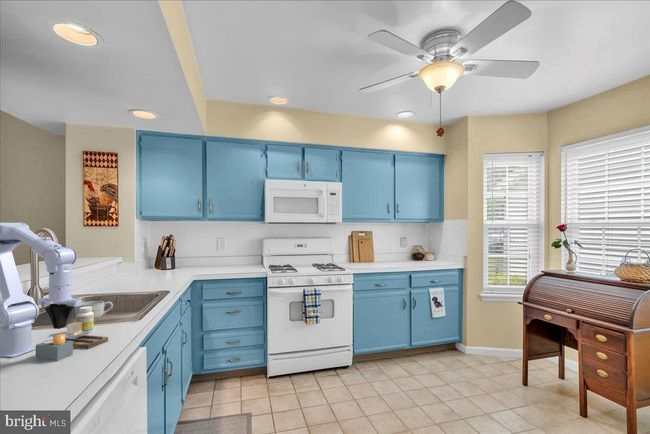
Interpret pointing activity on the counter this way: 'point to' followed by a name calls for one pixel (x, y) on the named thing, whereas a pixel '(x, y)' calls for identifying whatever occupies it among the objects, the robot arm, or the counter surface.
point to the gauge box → (53, 350)
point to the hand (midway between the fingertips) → (59, 327)
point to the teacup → (95, 308)
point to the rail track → (87, 341)
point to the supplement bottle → (86, 318)
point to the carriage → (75, 330)
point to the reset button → (59, 339)
